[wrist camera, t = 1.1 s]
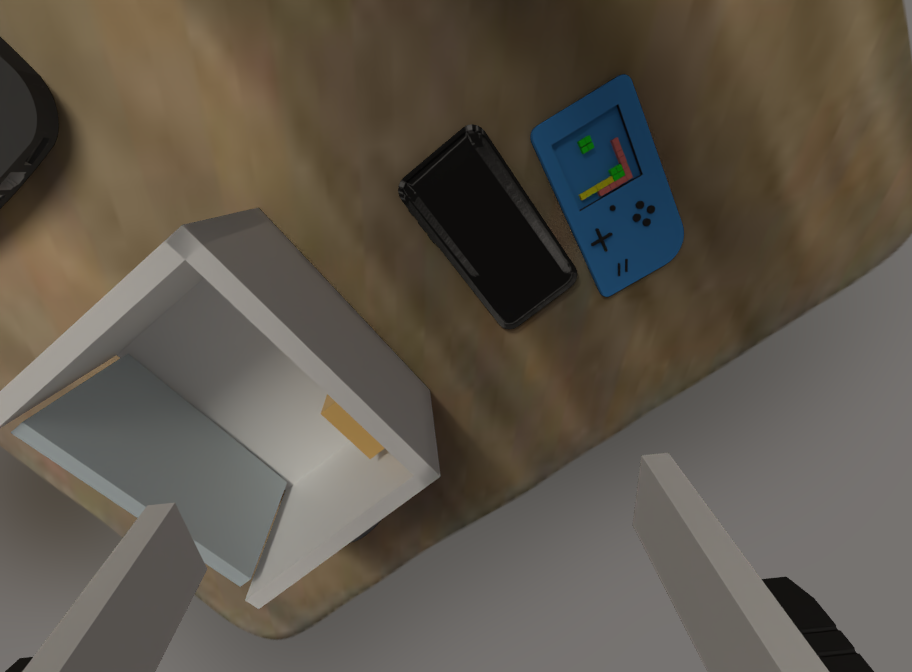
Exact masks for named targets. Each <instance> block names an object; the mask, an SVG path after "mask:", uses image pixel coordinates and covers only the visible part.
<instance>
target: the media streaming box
mask: <svg viewBox="0 0 912 672" xmlns="http://www.w3.org/2000/svg"><path fill="white" fill-rule="evenodd" d="M58 125H59V123H58V114H57V109H56V105H55V102H54V100H53V97H52V95H51V93H50V91H49V89H48V87H47V86H46V84H45V83H44V81H43V80H42V79H41V77H40V76H39V75H38V74H37V73H36V72H35V71H34V70H33V69H32V68H31V67H30V66H29V65H28V64H27V63H26V62H25V61H24V60H23V59H22V58H21V57H20V56H19V55H18V54H17V53H16V52H15V51H14V50H13V49H12V48H11V47H10V46H9V45H8V44H7V43H6V42H5V41H4V40H3V39H2V38H1V37H0V201H1V202H0V208H1V207H2V206H3V205H4V204H5V203H6V202H7V201H8V200H9V199H10V198H11V197H12V196H13V195H14V193H15V192H16V191H17V190H18V189H19V188H20V187H21V186H22V184H23V183H24V182H25V181H26V180H27V179H28V177H29V176H30V175H31V174H32V173H33V171H34V170H35V169H36V168H37V167H38V165H39V164H40V163H41V162H42V160H43V159H44V158H45V156H46V155H47V154H48V152H49V151H50V150H51V148H52V147H53V146H54V144H55V142H56V139H57V135H58Z"/></svg>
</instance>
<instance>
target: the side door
mask: <svg viewBox="0 0 912 672" xmlns="http://www.w3.org/2000/svg"><path fill="white" fill-rule="evenodd" d="M11 433H12V434H13V435H15V436H16V437H18V438H19V439H21V440H22V441H24V442H25V443H27V444H28V445H30V446H31V447H33V448H34V449H36V450H37V451H39V452H40V453H42V454H43V455H45V456H46V457H48V458H49V459H51V460H52V461H54V462H55V463H57V464H58V465H60V466H61V467H63V468H64V469H65V470H67V471H68V472H70V473H71V474H73V475H74V476H76V477H77V478H79V479H80V480H82V481H83V482H85V483H86V484H88V485H89V486H91V487H92V488H94V489H95V490H97V491H98V492H100V493H101V494H103V495H104V496H106V497H107V498H109V499H110V500H112V501H113V502H115V503H116V504H118V505H119V506H121V507H122V508H124V509H125V510H127V511H128V512H130V513H131V514H133V515H134V516H136V517H137V518H138V517H139V516H140V515H141V513H142V512H143V511H144V509H145V508H146V507H147V505H156V504H166V503H176V506H177V508H178V510H179V512H180V514H181V516H182V518H183V520H184V522H185V524H186V526H187V528H188V530H189V532H190V534H191V536H192V539H193V541H194V543H195V545H196V547H197V549H198V551H199V553H200V555H201V557H202V559H203V561H204V563H206V564H207V565H209V566H210V567H211V568H213V569H214V570H216V571H217V572H219V573H220V574H222V575H223V576H225V577H226V578H228V579H229V580H231V581H232V582H234V583H235V584H237V585H238V586H240V587H241V586H242V585H243V584H245V583H246V582H247V581H249V580H250V579H251V577H252V574H253V572H254V569H255V566H256V564H257V561H258V558H259V556H260V553H261V550H262V548H263V545H264V542H265V540H266V537H267V534H268V532H269V529H270V527H271V524H272V521H273V519H274V516H275V513H276V511H277V508H278V505H279V503H280V500H281V497H282V495H283V492H284V489H285V487H286V484H287V482H286V481H285V480H283V479H282V478H281V477H280V476H279V475H277V474H276V473H275V472H274V471H272V470H271V469H270V468H269V467H267V466H266V465H265V464H264V463H263V462H261V461H260V460H259V459H258V458H256V457H255V456H254V455H253V454H251V453H250V452H249V451H248V450H247V449H245V448H244V447H243V446H242V445H240V444H239V443H238V442H237V441H235V440H234V439H233V438H232V437H231V436H229V435H228V434H227V433H226V432H224V431H223V430H222V429H221V428H219V427H218V426H217V425H216V424H214V423H213V422H212V421H211V420H210V419H208V418H207V417H206V416H205V415H203V414H202V413H201V412H200V411H198V410H197V409H196V408H195V407H194V406H192V405H191V404H190V403H189V402H187V401H186V400H185V399H184V398H182V397H181V396H180V395H179V394H178V393H176V392H175V391H174V390H173V389H171V388H170V387H169V386H168V385H166V384H165V383H164V382H163V381H162V380H160V379H159V378H158V377H157V376H155V375H154V374H153V373H152V372H150V371H149V370H148V369H147V368H146V367H144V366H143V365H142V364H141V363H139V362H138V361H137V360H136V359H134V358H133V357H132V356H131V355H130V354H126V355H125V356H123V357H122V358H120V359H119V360H117V361H116V362H114V363H113V364H111V365H110V366H108V367H106V368H105V369H103V370H102V371H100V372H99V373H97V374H96V375H94V376H93V377H91V378H90V379H88V380H86V381H85V382H83V383H82V384H80V385H79V386H77V387H76V388H74V389H73V390H71V391H70V392H68V393H66V394H65V395H63V396H62V397H60V398H59V399H57V400H56V401H54V402H53V403H51V404H50V405H48V406H46V407H45V408H43V409H42V410H40V411H39V412H37V413H36V414H34V415H33V416H31V417H30V418H28V419H26V420H25V421H23V422H22V423H21V424H20V425H19V426H18V427H16V428H15V429H14V430H13V431H12V432H11Z"/></svg>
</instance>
